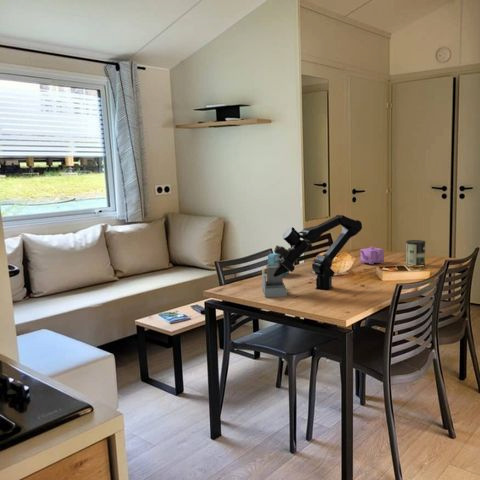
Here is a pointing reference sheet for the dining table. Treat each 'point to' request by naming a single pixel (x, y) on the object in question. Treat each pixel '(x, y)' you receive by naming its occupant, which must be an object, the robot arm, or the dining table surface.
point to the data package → (274, 260)
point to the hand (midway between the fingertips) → (273, 275)
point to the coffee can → (415, 252)
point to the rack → (272, 288)
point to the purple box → (372, 255)
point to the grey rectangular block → (270, 278)
